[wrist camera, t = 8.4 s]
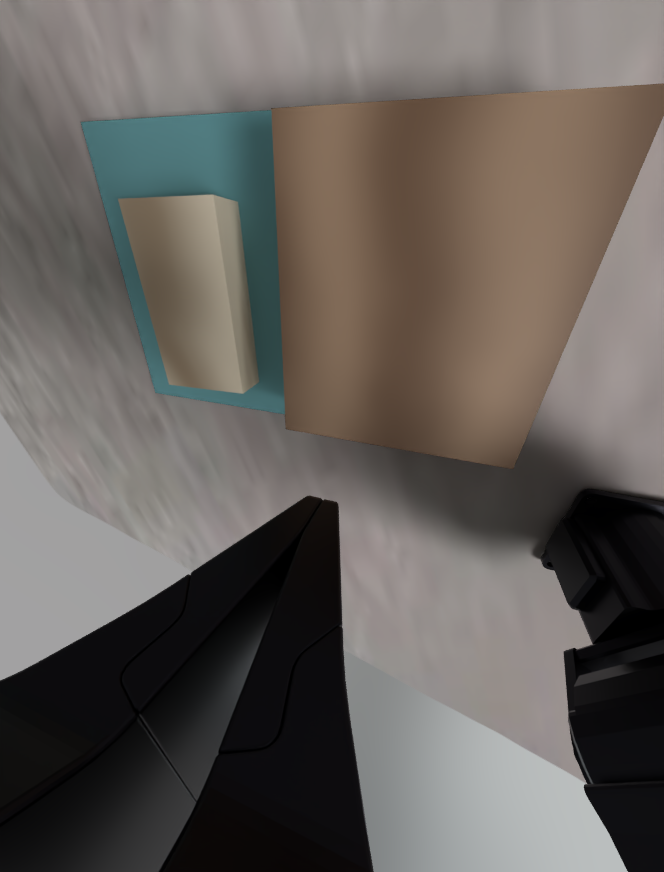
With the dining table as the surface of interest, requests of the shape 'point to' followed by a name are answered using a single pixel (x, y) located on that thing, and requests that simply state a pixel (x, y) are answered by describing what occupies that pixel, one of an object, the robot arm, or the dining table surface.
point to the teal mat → (200, 175)
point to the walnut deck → (444, 257)
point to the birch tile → (195, 288)
